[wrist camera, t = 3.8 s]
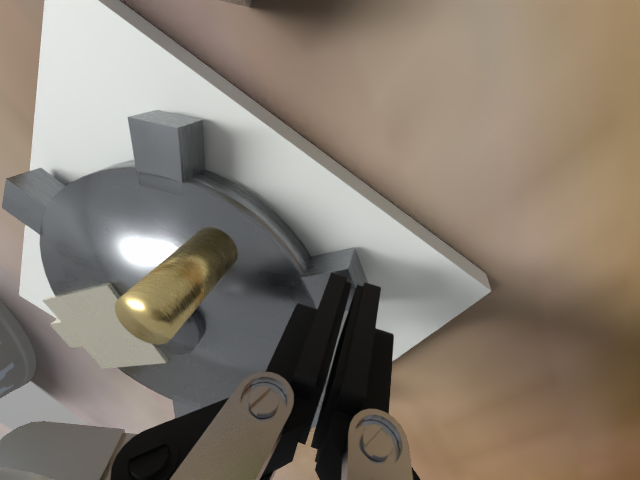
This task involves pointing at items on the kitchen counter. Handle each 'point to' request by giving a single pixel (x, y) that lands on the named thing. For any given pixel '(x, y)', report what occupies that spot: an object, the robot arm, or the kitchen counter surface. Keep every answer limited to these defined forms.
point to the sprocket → (171, 265)
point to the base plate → (227, 161)
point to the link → (240, 2)
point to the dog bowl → (14, 353)
